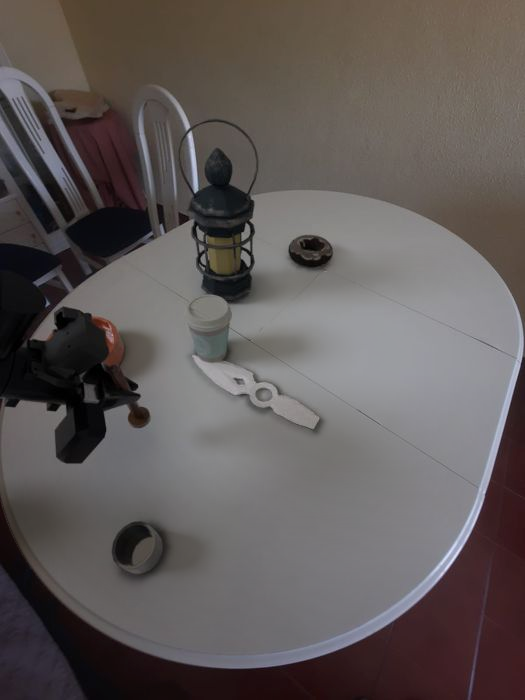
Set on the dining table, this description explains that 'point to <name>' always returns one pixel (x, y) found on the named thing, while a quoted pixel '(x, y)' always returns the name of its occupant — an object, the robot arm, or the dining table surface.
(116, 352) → the bowl
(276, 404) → the knife
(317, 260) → the donut
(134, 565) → the utensil holder
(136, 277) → the dining table surface
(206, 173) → the lantern
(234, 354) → the dining table surface
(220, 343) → the coffee cup
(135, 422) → the brown wooden rod
